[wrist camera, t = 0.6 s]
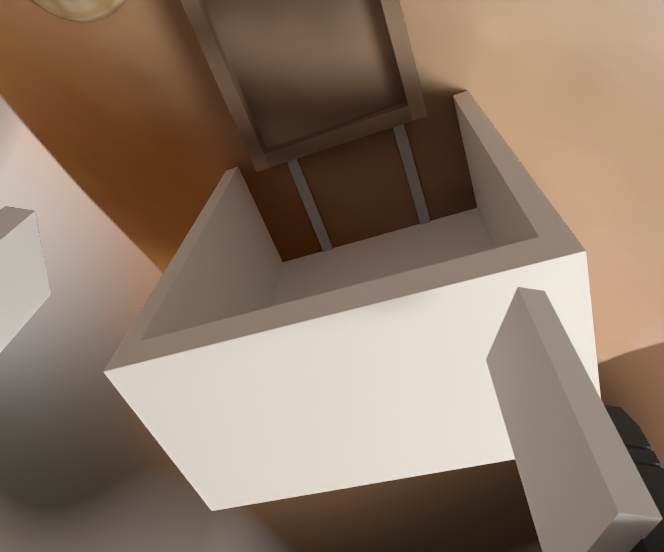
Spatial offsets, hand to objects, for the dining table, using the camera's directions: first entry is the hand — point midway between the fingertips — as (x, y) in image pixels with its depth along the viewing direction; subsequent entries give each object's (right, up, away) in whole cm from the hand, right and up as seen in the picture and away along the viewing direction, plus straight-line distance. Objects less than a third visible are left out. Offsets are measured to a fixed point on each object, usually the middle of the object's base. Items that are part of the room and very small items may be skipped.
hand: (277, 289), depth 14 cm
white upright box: (0, +15, +19) cm, 24 cm away
